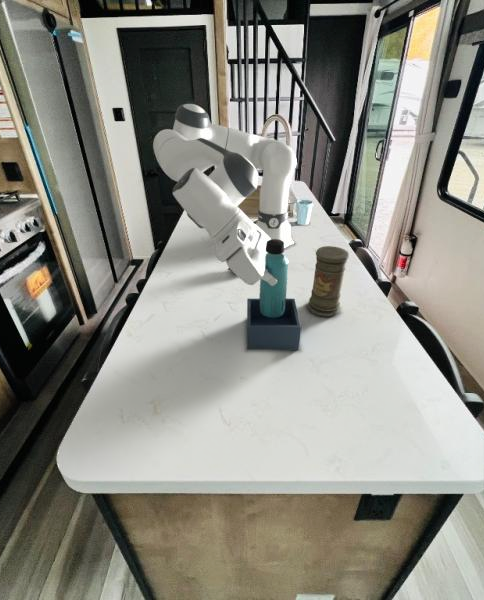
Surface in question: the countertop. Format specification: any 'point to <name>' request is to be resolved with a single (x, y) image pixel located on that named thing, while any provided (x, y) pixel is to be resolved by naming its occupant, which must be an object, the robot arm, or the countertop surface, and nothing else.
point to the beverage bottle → (277, 266)
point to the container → (328, 281)
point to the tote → (272, 328)
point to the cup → (303, 211)
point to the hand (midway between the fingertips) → (276, 275)
